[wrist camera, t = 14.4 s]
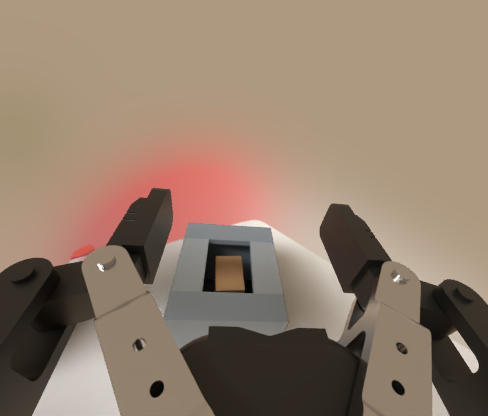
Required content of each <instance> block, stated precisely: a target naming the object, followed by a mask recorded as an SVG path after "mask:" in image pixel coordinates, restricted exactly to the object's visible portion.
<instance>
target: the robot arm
mask: <svg viewBox="0 0 488 416" xmlns="http://www.w3.org/2000/svg"><path fill="white" fill-rule="evenodd" d="M172 222H173V211H172V200H171V191H170V190H169V189H159V188H153V189H152V190H151V192H150V194H149V195H148V197H147V198H139V199H138V200H136V201H135V202H134V203H132V204H131V206H130V207H129V209H128V211H127V214H125V216H124V217H123V220H122V221H121V222H120V224H119V225H118V227H117V229H116V230H115V232H114V234H113V236H112V237H111V238H110V240H109V242H108V243H107V245H106V246H104V247H101V248H99V249H96V250H95V251H93V252H91V253H90V254H89V255H88V256H87V257H86V258H85V259H84V261H80V262H76V263H70V264H65V265H60V266H55V267H53V265H52V264H51V262H50V261H49V260H47V259H44V258H31V259H26V260H23V261H20V262H18V263H15V264H13V265H11V266H10V267H8V268H7V269H5V270H4V271H3V272H1V273H0V416H32V414H33V412H34V410H35V408H36V406H37V404H38V402H39V400H40V398H41V396H42V393H43V391H44V389H45V387H46V385H47V383H48V381H49V379H50V377H51V375H52V373H53V371H54V369H55V367H56V365H57V363H58V361H59V358H60V356H61V354H62V352H63V350H64V348H65V346H66V344H67V342H68V340H69V338H70V336H71V334H72V332H73V330H74V328H75V326H76V323H78V322H81V321H85V320H89V319H92V318H96V319H95V320H94V323H95V327H96V331H97V335H98V338H99V342H100V345H101V349H102V352H103V355H104V359H105V362H106V366H107V369H108V373H109V376H110V380H111V383H112V387H113V390H114V394H115V397H116V401H117V404H118V408H119V411H120V415H121V416H432V382H433V384H434V386H435V388H436V390H437V392H438V394H439V396H440V398H441V399H442V401H443V403H444V405H445V407H446V409H447V411H448V413H449V415H450V416H488V305H487V304H486V302H485V301H484V300H483V299H482V298H481V297H480V296H479V295H478V294H477V293H476V292H475V291H474V290H472V289H471V288H470V287H468V286H466V285H464V284H463V283H460V282H458V281H455V280H451V279H447V280H444V281H443V282H442V283H441V284H439V285H438V286H436V285H433V284H429V283H426V282H423V281H420V280H419V279H418V277H417V276H416V275H415V273H413V272H412V271H411V270H410V269H409V268H407V267H406V266H404V265H402V264H400V263H397V262H393V261H392V260H391V259H390V257H389V256H388V254H387V253H386V252H385V250H384V249H383V248H382V246H381V244H380V243H379V241H378V240H377V239H376V238H375V236H374V234H373V233H372V232H371V230H370V228H369V227H368V226H367V224H366V223H365V222H364V221H363V220H362V219H361V218H359V217H358V216H357V215H355V214H354V213H353V211H352V210H351V208H350V207H349V206H348V205H344V204H331V205H330V207H329V209H328V211H327V213H326V215H325V217H324V220H323V221H322V224H321V226H320V237H321V240H322V242H323V244H324V247H325V249H326V252H327V254H328V256H329V259H330V261H331V264H332V266H333V268H334V271H335V273H336V275H337V278H338V280H339V283H340V285H341V287H342V290H343V292H344V293H354V294H355V296H356V298H355V299H354V300H353V303H352V306H351V309H350V312H349V315H348V318H347V321H346V325H345V328H344V331H343V334H342V336H341V338H340V340H339V341H338V342H336V341H333V340H331V339H329V338H328V336H327V333H326V330H325V329H316V328H296V329H293V330H289V331H286V332H282V333H279V334H275V335H271V336H268V335H264V334H261V333H258V332H254V331H251V330H248V329H245V328H241V327H230V326H209V331H208V335H205V336H201V337H199V338H196V339H194V340H192V341H191V342H189V343H187V344H186V345H184V346H183V347H182V348H180V349H179V348H178V346H177V344H176V342H175V340H174V338H173V336H172V334H171V332H170V330H169V328H168V326H167V324H166V322H165V320H164V318H163V316H162V314H161V312H160V311H159V309H158V307H157V305H156V303H155V301H154V299H153V297H152V295H151V293H150V292H149V291H147V290H146V288H145V286H144V284H153V281H154V278H155V275H156V272H157V269H158V266H159V263H160V260H161V257H162V254H163V251H164V248H165V245H166V242H167V239H168V236H169V233H170V230H171V227H172ZM457 330H458V332H459V333H460V335H461V336H462V337H463V339H464V340H465V342H466V343H467V345H468V346H469V348H470V349H471V350H472V352H473V353H474V355H475V356H476V358H477V360H478V363H479V369H478V371H477V372H476V373H472V372H471V370H470V369H469V367H468V366H467V364H466V362H465V361H464V359H463V358H462V356H461V355H460V353H459V352H458V350H457V349H456V347H455V346H454V344H453V343H452V341H451V340H450V338H449V337H448V335H450V334H452V333H453V332H455V331H457Z"/></svg>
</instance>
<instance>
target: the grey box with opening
mask: <svg viewBox="0 0 488 416" xmlns="http://www.w3.org/2000/svg"><path fill="white" fill-rule="evenodd" d="M216 256H241V260H242V268H243V277H244V281H252V289H253V293H228V292H203V284H204V279H215V259H216ZM164 320H165V322H166V324H167V326H168V328H169V330H170V332H171V334H172V336H173V338H174V340H175V342H176V344H177V346H178V348H179V349H180V348H182V347H183V346H184V345H186V344H187V343H189V342H191V341H192V340H194V339H196V338H199V337H201V336H205V335H208V331H209V326H230V327H241V328H245V329H248V330H251V331H254V332H258V333H261V334H264V335H268V336H271V335H275V334H279V333H282V332H284V331H285V329H286V327H287V325H288V323H289V322H288V317H287V311H286V306H285V301H284V296H283V290H282V285H281V280H280V274H279V269H278V264H277V259H276V253H275V248H274V243H273V237H272V232H271V228H264V227H247V226H231V225H215V224H214V225H213V224H198V223H188V226H187V230H186V234H185V237H184V241H183V245H182V249H181V253H180V257H179V261H178V264H177V268H176V272H175V276H174V280H173V284H172V288H171V291H170V295H169V299H168V303H167V307H166V311H165V315H164Z"/></svg>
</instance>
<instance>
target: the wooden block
mask: <svg viewBox="0 0 488 416" xmlns="http://www.w3.org/2000/svg"><path fill="white" fill-rule="evenodd" d="M214 292H228V293H244V292H245V286H244V277H243V268H242V260H241V256H216V259H215V280H214Z"/></svg>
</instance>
